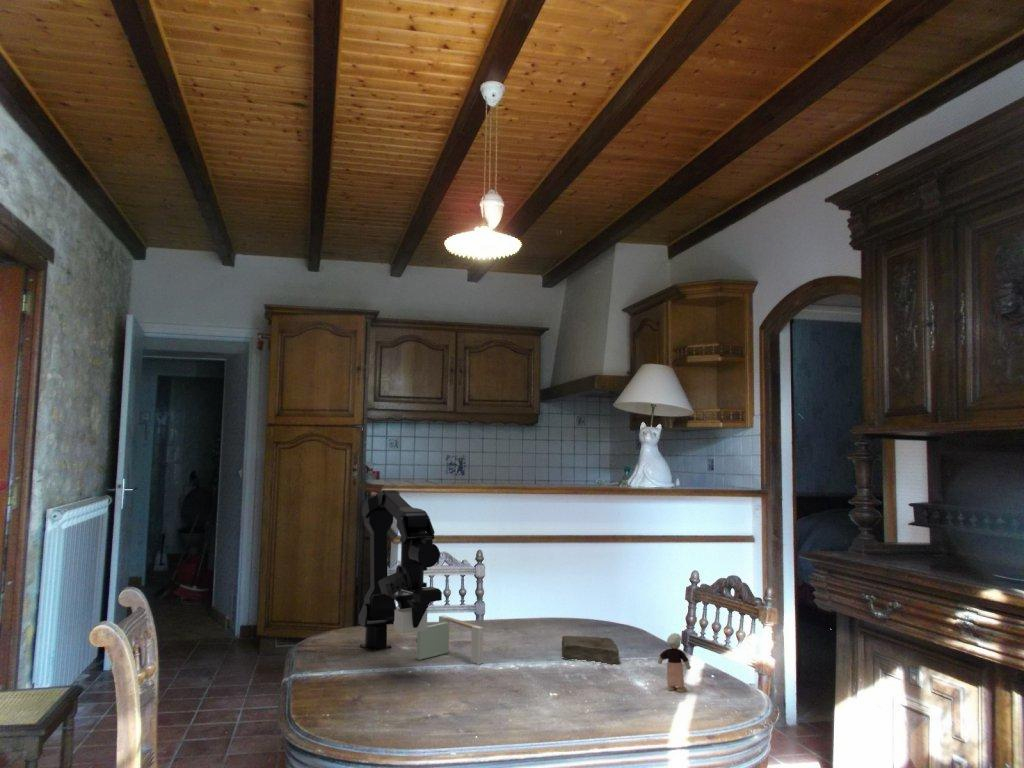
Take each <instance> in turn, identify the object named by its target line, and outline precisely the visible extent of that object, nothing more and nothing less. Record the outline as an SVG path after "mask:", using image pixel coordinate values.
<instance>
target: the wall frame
mask: <svg viewBox="0 0 1024 768" xmlns="http://www.w3.org/2000/svg"><path fill="white" fill-rule="evenodd" d="M443 622H448V623H449V624H450V623H453V624H456V625H460V626H462V627H465V628H469V629H471V638H470V639H471V645H470V662H471V663H472V662H473V663H472V664H475V663H476V664H475V665H477V664H479V665H482V664H483V659H484V658H483V657H484V656H483V655H484V652H483V651H484V649H483V648H484V647H483V646H484V627H483V626H479V625H476V624H473V623H469V622H466V621H464V620H459V619H458V618H457V619H456V618H454V617H449V616H447V615H439V616H438V624H439V623H443ZM448 652H450V635H449V636H448ZM481 663H482V664H481Z"/></svg>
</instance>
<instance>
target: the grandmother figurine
mask: <svg viewBox="0 0 1024 768" xmlns="http://www.w3.org/2000/svg"><path fill="white" fill-rule="evenodd" d="M681 642H682V636H681V635H680V633H676V632H673V633H671V634H670V635H669V636H668V637H667V639H666V643H667V644H668V645H669V647H670V648H667V649H664V650H663V651H662V652H661V653H660V654H659V658H658V660H657V664H659V665H661V664H663V661H664V660H667V666H666V680H667V682H666V683H667V689H668V690H667V689H666V690H667V691H670V690H673V691H675V690H676V692H679V693H684V692H687V691H688V689H687V687H686V686H685V683H684V666H683V664H684V665H685V667H686V668H685V669H686V670H691V665H690V662H689V658H688V657H687V655H686V654H685V652H684V651H683V650H681V649H680V646H681ZM682 662H683V663H682ZM677 687H678V688H677Z"/></svg>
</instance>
